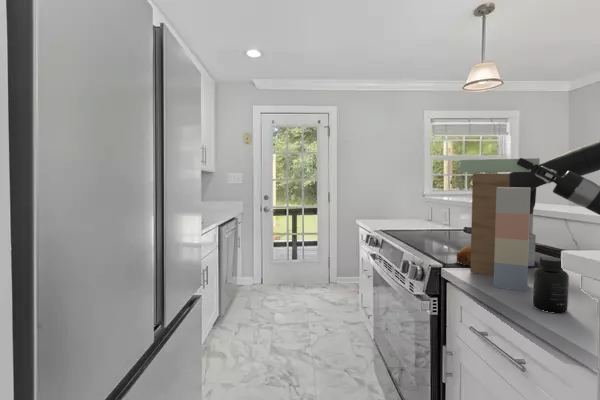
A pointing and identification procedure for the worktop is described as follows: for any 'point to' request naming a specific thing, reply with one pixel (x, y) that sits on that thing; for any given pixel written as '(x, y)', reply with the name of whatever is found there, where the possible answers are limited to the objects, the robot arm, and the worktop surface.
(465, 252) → the bread roll
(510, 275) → the brick tower
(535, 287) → the supplement bottle
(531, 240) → the supplement box
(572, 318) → the worktop surface
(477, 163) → the long brick
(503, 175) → the walnut stand
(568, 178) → the robot arm
